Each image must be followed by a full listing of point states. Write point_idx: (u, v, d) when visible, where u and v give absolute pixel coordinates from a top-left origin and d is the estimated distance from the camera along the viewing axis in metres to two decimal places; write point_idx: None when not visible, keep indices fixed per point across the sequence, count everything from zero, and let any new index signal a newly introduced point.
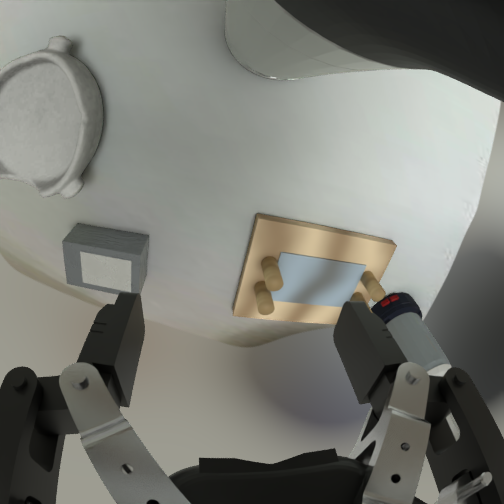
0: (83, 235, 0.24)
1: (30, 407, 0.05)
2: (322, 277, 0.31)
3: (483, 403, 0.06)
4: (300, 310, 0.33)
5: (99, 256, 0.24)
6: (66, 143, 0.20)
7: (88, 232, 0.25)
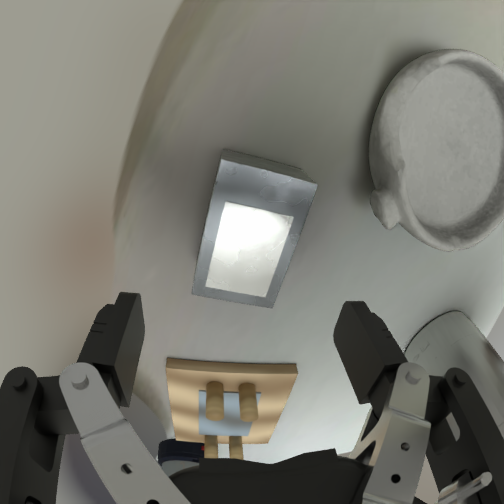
0: None
1: (30, 407, 0.05)
2: (233, 418, 0.28)
3: (483, 403, 0.06)
4: (187, 411, 0.27)
5: (278, 250, 0.16)
6: (422, 188, 0.17)
7: None
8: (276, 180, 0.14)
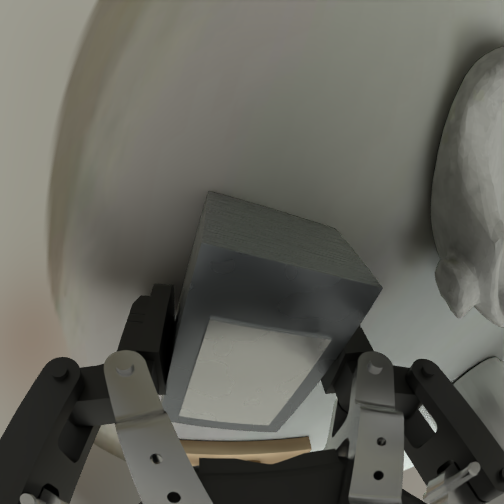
0: None
1: (68, 399, 0.05)
2: None
3: (456, 392, 0.07)
4: None
5: (296, 379, 0.09)
6: None
7: None
8: (312, 284, 0.07)
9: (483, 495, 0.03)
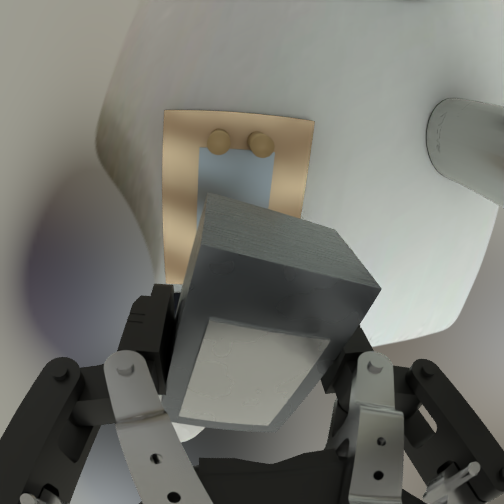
0: None
1: (68, 399, 0.05)
2: None
3: (456, 392, 0.07)
4: (183, 199, 0.24)
5: (295, 379, 0.09)
6: None
7: None
8: (311, 285, 0.07)
9: (483, 495, 0.03)
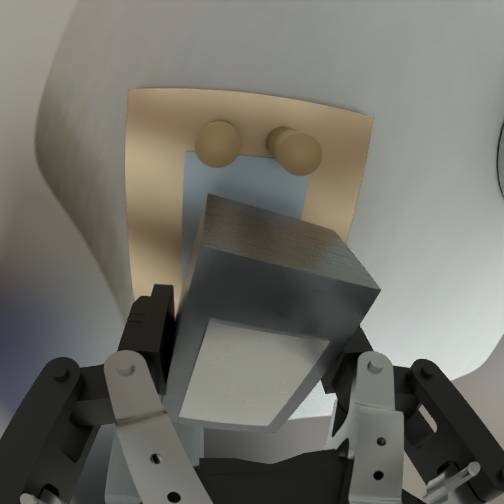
0: None
1: (68, 399, 0.05)
2: None
3: (456, 392, 0.07)
4: (160, 235, 0.15)
5: (295, 380, 0.09)
6: None
7: None
8: (310, 286, 0.07)
9: (483, 495, 0.03)
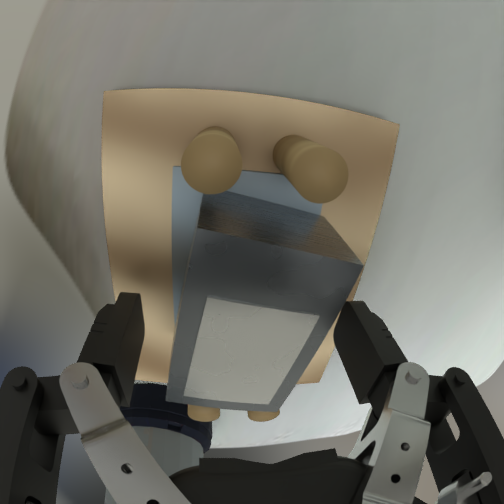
0: None
1: (31, 407, 0.05)
2: None
3: (482, 403, 0.06)
4: (146, 266, 0.12)
5: (290, 355, 0.10)
6: None
7: None
8: (297, 262, 0.08)
9: None
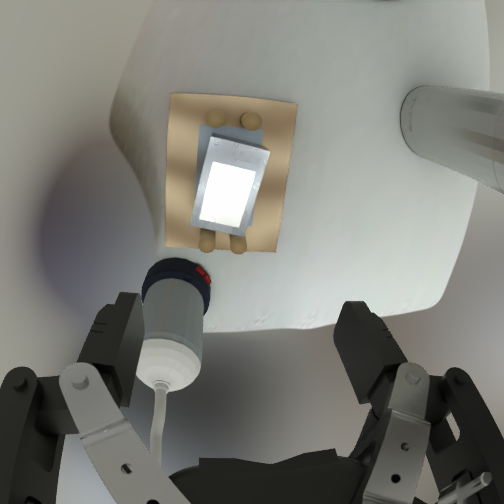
0: None
1: (30, 407, 0.05)
2: None
3: (483, 403, 0.06)
4: (184, 169, 0.27)
5: (246, 193, 0.25)
6: None
7: None
8: (244, 149, 0.23)
9: None
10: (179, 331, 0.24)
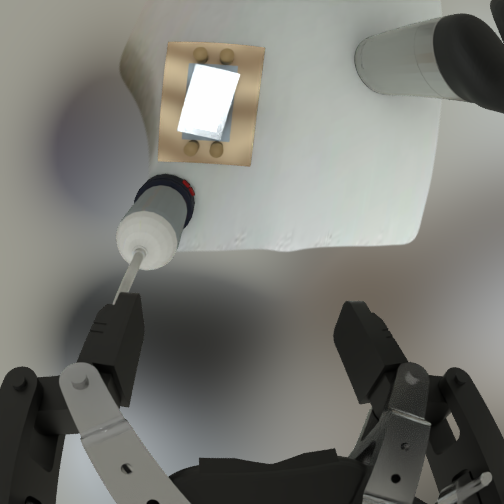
0: None
1: (30, 407, 0.05)
2: None
3: (483, 403, 0.06)
4: (176, 96, 0.31)
5: (221, 105, 0.29)
6: None
7: None
8: (220, 72, 0.27)
9: None
10: (161, 209, 0.28)
